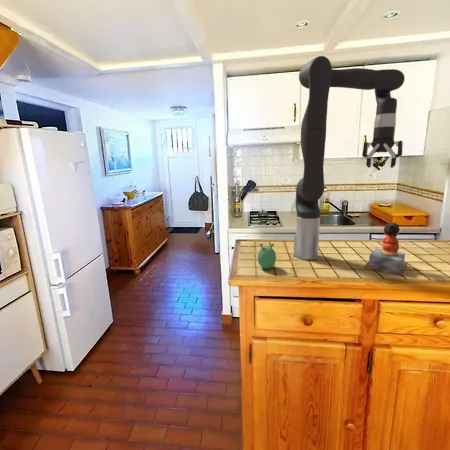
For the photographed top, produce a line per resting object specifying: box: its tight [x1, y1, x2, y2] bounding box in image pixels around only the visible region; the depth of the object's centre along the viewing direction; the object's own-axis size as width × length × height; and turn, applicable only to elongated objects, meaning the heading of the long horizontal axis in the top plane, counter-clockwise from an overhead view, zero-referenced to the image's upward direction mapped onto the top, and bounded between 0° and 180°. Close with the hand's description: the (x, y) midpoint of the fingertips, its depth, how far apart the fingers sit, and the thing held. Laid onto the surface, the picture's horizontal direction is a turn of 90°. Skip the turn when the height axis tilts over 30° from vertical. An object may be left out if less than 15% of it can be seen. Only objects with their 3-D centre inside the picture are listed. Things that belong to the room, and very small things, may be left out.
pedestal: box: [364, 247, 408, 277], centre depth 108 cm, size 12×12×5 cm
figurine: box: [381, 221, 400, 256], centre depth 106 cm, size 6×6×12 cm
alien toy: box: [256, 242, 277, 270], centre depth 109 cm, size 7×8×10 cm
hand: (380, 167), depth 119 cm, fingers open, 8 cm apart
